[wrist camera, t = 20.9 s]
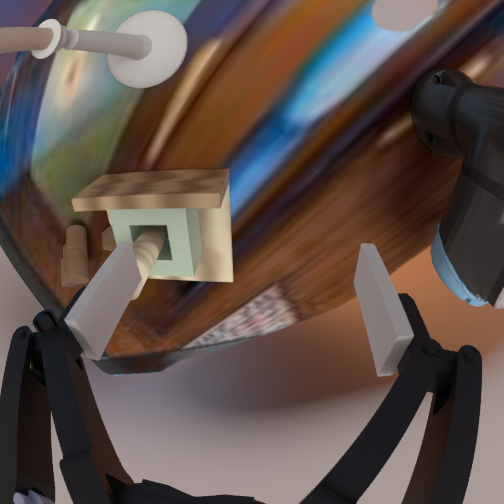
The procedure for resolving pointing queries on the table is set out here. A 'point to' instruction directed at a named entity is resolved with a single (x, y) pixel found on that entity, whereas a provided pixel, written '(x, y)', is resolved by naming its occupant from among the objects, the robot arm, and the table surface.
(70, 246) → the wooden block set
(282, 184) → the table surface
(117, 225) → the sliding block
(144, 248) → the dowel
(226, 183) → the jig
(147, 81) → the candlestick
